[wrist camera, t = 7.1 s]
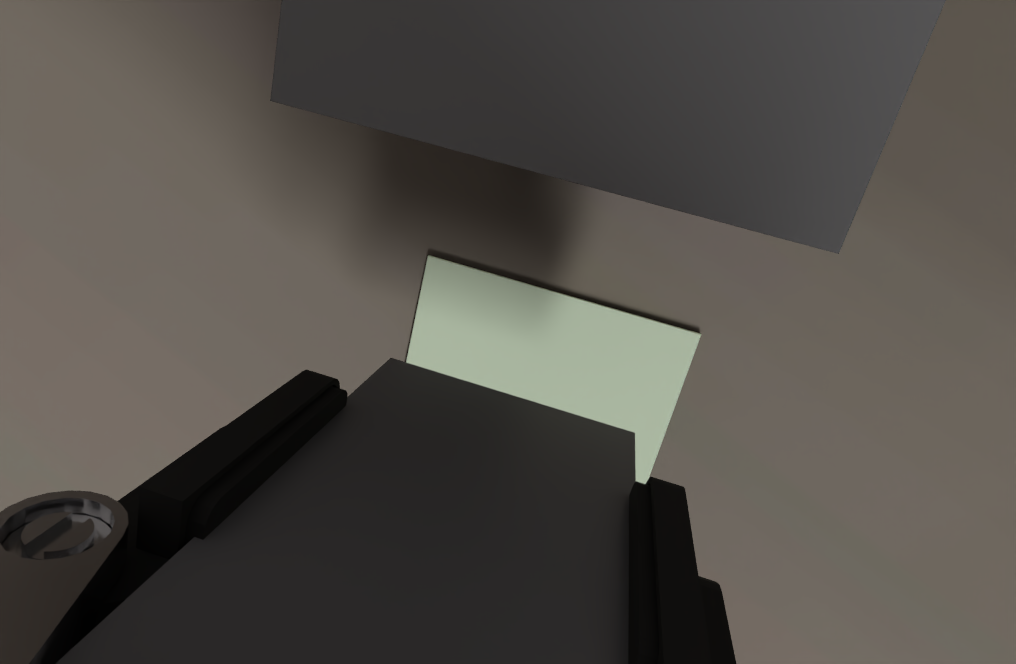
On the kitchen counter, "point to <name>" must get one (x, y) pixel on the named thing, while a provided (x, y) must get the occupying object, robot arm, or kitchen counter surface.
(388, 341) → the kitchen counter surface
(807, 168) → the domino
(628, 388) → the pad
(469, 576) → the domino
